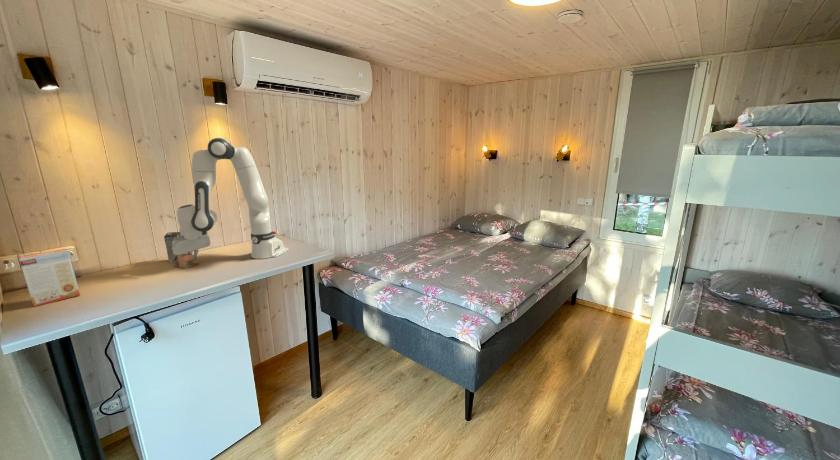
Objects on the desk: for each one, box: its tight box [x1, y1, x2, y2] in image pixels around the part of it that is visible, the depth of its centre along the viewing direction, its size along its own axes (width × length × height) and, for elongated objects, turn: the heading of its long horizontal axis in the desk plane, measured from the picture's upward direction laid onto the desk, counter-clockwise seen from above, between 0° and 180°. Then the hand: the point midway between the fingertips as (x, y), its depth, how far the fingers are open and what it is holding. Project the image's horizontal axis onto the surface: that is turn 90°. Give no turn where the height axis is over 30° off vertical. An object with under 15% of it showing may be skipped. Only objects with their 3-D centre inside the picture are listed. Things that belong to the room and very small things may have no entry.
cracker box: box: [18, 248, 81, 307], centre depth 144 cm, size 14×6×21 cm, turn 141°
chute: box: [172, 258, 199, 270], centre depth 183 cm, size 15×9×4 cm, turn 163°
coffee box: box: [163, 231, 181, 264], centre depth 195 cm, size 9×6×16 cm
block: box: [177, 253, 195, 268], centre depth 186 cm, size 5×5×6 cm
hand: (194, 258), depth 191 cm, fingers closed
